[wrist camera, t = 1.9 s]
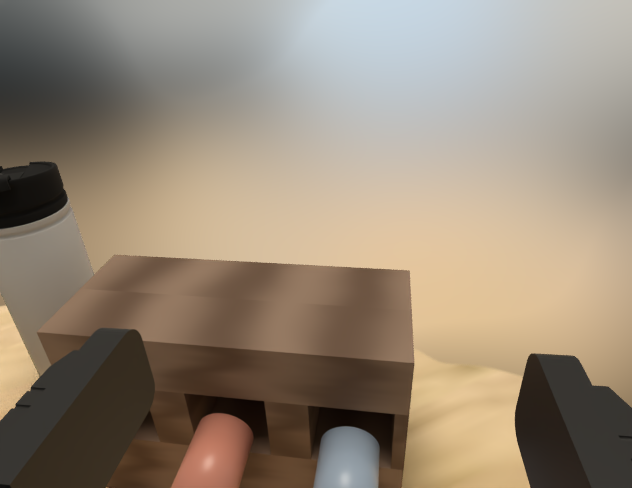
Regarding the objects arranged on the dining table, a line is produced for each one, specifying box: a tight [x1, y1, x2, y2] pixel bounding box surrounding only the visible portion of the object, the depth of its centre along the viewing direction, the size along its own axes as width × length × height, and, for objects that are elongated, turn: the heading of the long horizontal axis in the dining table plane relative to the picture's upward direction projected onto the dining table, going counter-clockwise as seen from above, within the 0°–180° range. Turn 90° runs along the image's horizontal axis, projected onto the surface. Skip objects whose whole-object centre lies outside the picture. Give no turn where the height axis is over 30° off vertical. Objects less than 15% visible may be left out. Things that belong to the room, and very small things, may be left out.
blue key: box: [313, 426, 380, 488], centre depth 23 cm, size 3×4×3 cm
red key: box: [171, 413, 254, 488], centre depth 24 cm, size 3×4×3 cm
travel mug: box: [0, 162, 94, 377], centre depth 35 cm, size 6×7×20 cm
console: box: [37, 255, 414, 488], centre depth 30 cm, size 20×8×14 cm, turn 82°
